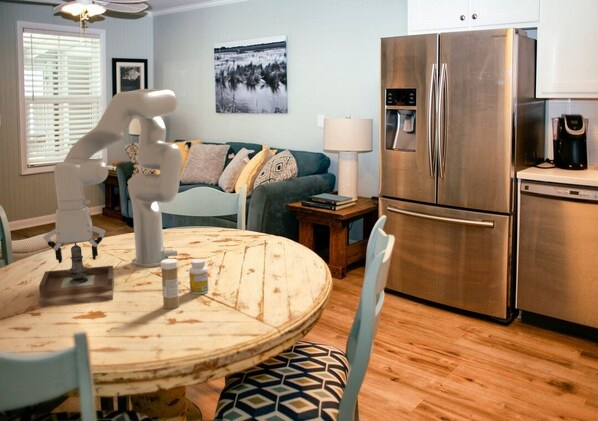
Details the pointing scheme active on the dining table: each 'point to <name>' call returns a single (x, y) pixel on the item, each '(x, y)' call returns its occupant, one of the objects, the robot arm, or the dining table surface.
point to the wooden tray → (76, 287)
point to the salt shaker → (77, 266)
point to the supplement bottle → (198, 277)
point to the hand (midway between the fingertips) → (77, 260)
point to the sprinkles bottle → (170, 283)
